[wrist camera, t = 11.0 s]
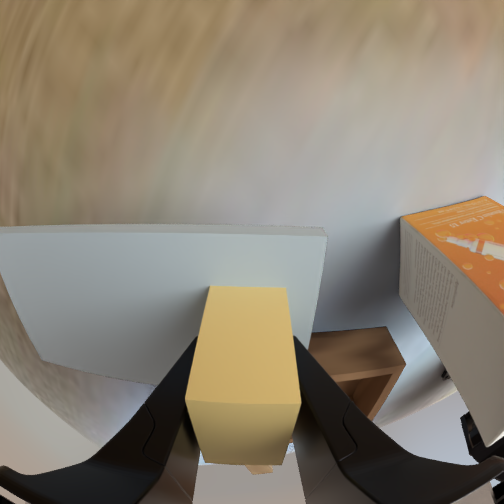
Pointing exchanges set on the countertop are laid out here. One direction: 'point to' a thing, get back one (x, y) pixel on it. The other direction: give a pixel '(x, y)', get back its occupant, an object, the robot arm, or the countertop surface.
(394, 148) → the countertop surface
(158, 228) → the lid
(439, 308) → the small box
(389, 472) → the robot arm
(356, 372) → the brown frame
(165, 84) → the countertop surface
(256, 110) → the countertop surface
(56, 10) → the countertop surface
